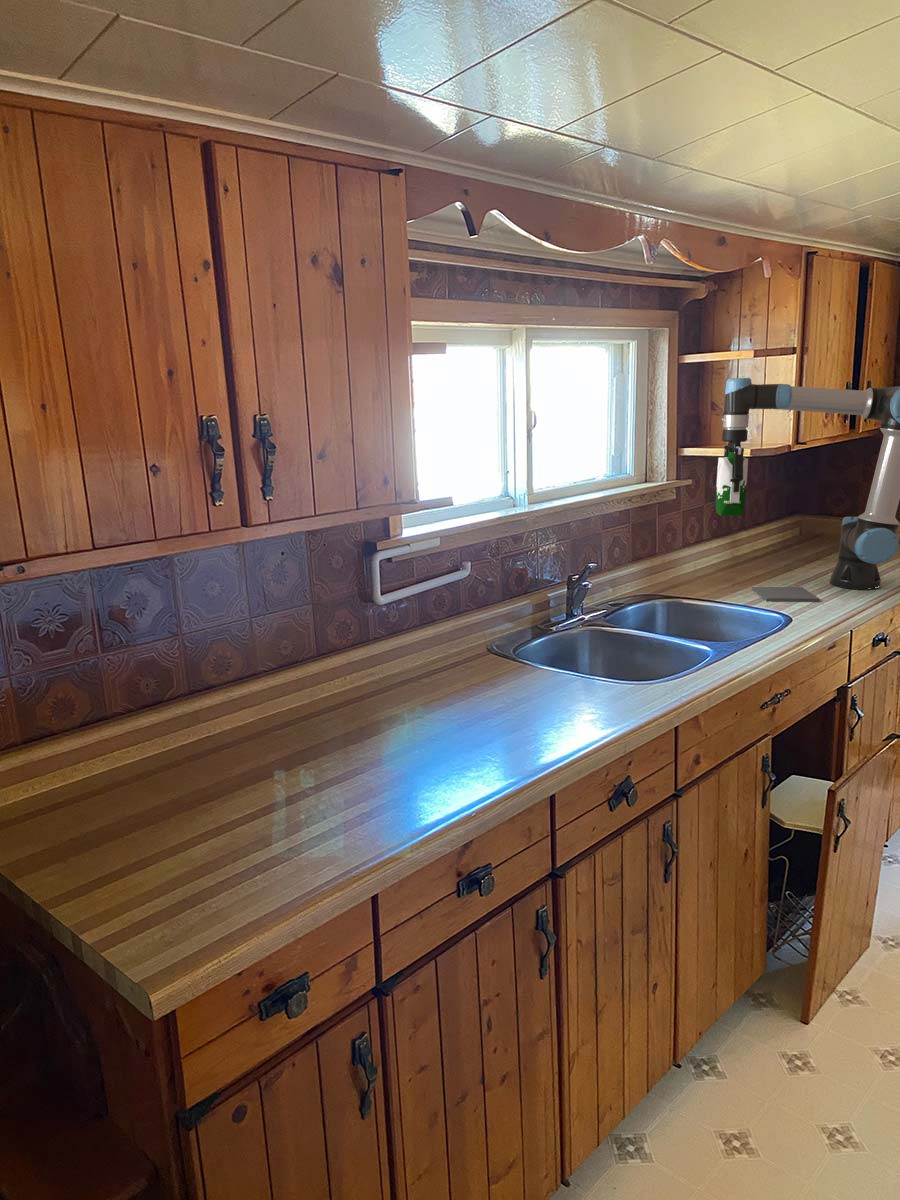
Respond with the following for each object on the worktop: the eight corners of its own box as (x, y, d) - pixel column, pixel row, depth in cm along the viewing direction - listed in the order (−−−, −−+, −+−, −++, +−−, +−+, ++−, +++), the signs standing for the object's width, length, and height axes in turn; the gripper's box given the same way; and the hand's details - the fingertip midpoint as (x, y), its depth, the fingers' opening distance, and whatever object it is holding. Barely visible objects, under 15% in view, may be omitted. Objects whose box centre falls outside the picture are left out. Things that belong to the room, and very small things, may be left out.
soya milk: (718, 516, 265) (722, 452, 260) (712, 512, 274) (716, 450, 269) (746, 516, 264) (751, 452, 259) (740, 512, 273) (744, 450, 268)
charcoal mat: (801, 590, 273) (801, 587, 273) (819, 601, 258) (819, 598, 257) (751, 589, 274) (751, 586, 274) (766, 601, 259) (766, 598, 258)
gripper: (714, 427, 273) (710, 496, 278) (732, 430, 252) (727, 504, 257) (738, 427, 273) (733, 496, 278) (757, 430, 252) (752, 504, 257)
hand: (730, 500), depth 268 cm, fingers closed on soya milk, 9 cm apart
